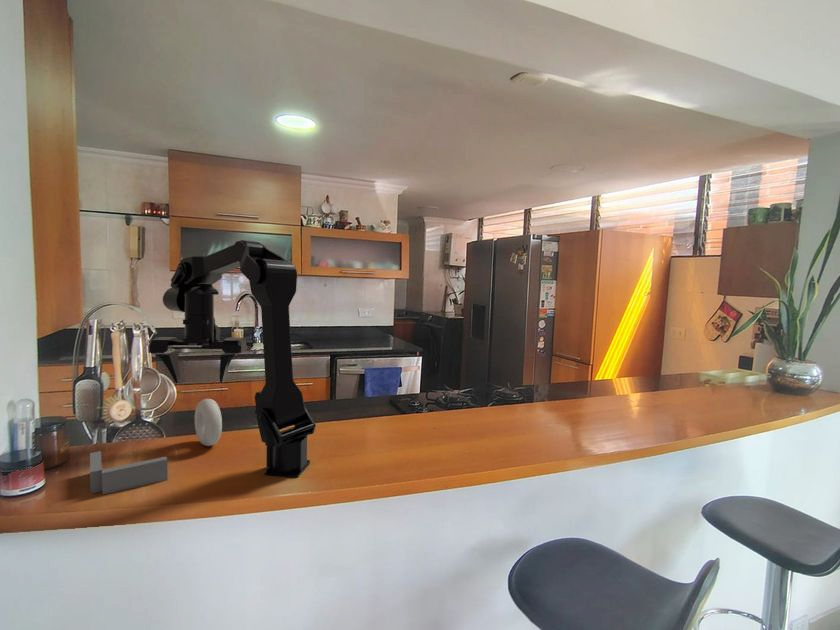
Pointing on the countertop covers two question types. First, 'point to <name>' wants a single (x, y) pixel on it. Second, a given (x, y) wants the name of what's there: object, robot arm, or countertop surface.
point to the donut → (208, 422)
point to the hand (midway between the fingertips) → (199, 382)
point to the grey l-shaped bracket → (125, 474)
